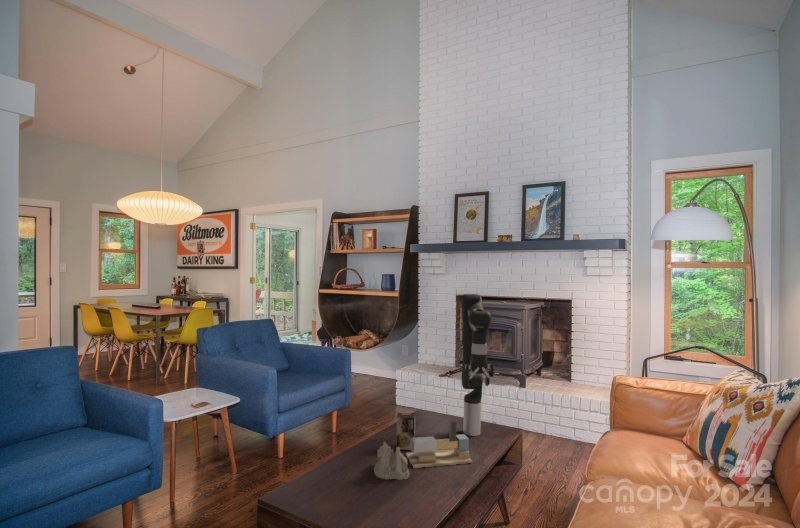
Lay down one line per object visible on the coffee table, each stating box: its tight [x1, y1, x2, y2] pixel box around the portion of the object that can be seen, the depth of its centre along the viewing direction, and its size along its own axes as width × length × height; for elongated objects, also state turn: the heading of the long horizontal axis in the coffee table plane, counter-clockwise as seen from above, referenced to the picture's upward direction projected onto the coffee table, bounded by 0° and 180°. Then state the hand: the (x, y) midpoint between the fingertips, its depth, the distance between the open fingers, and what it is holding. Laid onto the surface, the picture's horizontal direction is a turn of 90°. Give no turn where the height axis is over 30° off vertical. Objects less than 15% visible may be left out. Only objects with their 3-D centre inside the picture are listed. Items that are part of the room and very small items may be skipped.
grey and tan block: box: [410, 436, 437, 463], centre depth 210 cm, size 10×11×9 cm
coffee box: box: [395, 412, 416, 451], centre depth 225 cm, size 9×6×16 cm
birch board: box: [405, 448, 473, 469], centre depth 212 cm, size 14×28×1 cm, turn 103°
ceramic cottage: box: [373, 441, 411, 481], centre depth 199 cm, size 16×16×15 cm
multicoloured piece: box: [435, 419, 459, 450], centre depth 213 cm, size 3×16×12 cm, turn 103°
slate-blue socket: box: [453, 433, 471, 459], centre depth 214 cm, size 8×5×9 cm, turn 13°
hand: (478, 385), depth 218 cm, fingers open, 8 cm apart
